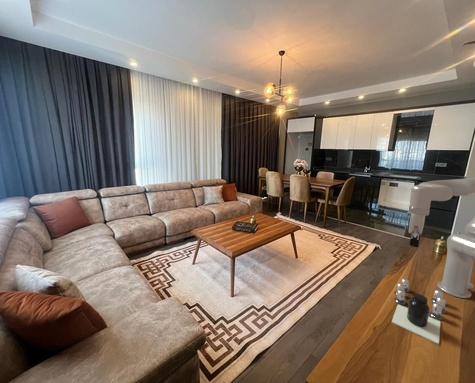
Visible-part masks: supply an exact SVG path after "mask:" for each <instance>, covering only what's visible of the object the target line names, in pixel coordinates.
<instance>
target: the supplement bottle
mask: <svg viewBox="0 0 475 383" xmlns="http://www.w3.org/2000/svg"><path fill="white" fill-rule="evenodd" d="M407 305H408V306H407V308H408V311H407V319H408V320H409V321H410V322H411V323H413V324H414V325H417V326H420V327H425V326H427V323H428V317H430V315H429V312H430V306H429V304H428V298H427V297H426V296H424V295H423V294H419V293H413V294H412V297H411V298H410V299H409V300H408V304H407Z"/></svg>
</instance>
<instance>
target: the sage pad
mask: <svg viewBox="0 0 475 383" xmlns="http://www.w3.org/2000/svg"><path fill="white" fill-rule="evenodd" d="M407 311H408V307H406V306H405V305H400V304H398V303H397V305H396V309H395V310H394V314H393V317H392V320H391V324H393V325H395V326H398V327H400V328H402V329H404V330H407V331H408V332H410V333H413V334H415V335H417V336H418V337H421V338H423V339H425V340H428V341H430V342H432V343H434V344H436V345H438V346H439V345H440V333H441V320H437V319H434V318H432V317H431V316H428V323H427V326H425V327H420V326H417V325H414V324H413V323H411V322H410V321H409V320H408V319H407Z"/></svg>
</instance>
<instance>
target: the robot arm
mask: <svg viewBox="0 0 475 383" xmlns="http://www.w3.org/2000/svg"><path fill="white" fill-rule="evenodd" d="M473 195H474V196H475V176H473V177H465V178H458V179H454V178H453V179H440V180H431V181H430V180H429V181H423V182H420V183H419V184H416V185H413V186H411V190H410V195H409V196H410V197H409V206H408V213H409V214H410V218H409V224H408V233H409V234H411V236H410V240H409V246H410V247H414V248H419V245H420V240H421V235H422V233H423V231H424V230H423V229H424V225H425V221H426V220H425V219H426V216H429V215H430V208H431V202H432V201H437V202H445V201H448V200H451V199H452V198H453V196H455V197H469V196H473ZM464 231H465V233H466V234H467V235H466V234H462V233H453V234H451V235H449V236H448V237H447V239H446V248H447V249H446V250H447V251H446V252H447V253H446V259H445V265H444V269H443V274H442V280H441V281H438V282H437V287H438V288H439V290H441V291H442V292H443V293H446V294H448V295H450V296H453V297H457V298H461V299H470V298H471V297H472V292H471V291H469V289H470V288H474V283H471V282H470V281H471V277H472V271H473V269H474V268H473V267H474V262H473V261H474V260H475V216H474V217H473V218H472V220H470V221H469V222H468V223H467V224H466V226H465V227H464Z"/></svg>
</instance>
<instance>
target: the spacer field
mask: <svg viewBox="0 0 475 383" xmlns="http://www.w3.org/2000/svg"><path fill="white" fill-rule="evenodd" d="M409 285H410V280H409V279H407V278H404V277H403V278H401V282H397V285H396V286H397V287H396V290H395V291H394V295H395V296H396V297H395V298H394V302H395V303H396V304H397V305H398V304H399V305H401V306H406V303H407V302H406V301H405V299H406V293H407V294H408V293H410V289H409ZM430 298H431V297H430ZM430 301H431V302H432V303H433V304H432V308H431V311H429V317H430V318H433V319H435V320H438V321H443V318H444V317H443V316H442V314H446V313H447V310H446V309H445V307H446V302H447V300H446V298H444V291H442V290H441V289H438V288H437V289H434V293H433V297H432V298H431V299H430Z"/></svg>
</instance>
